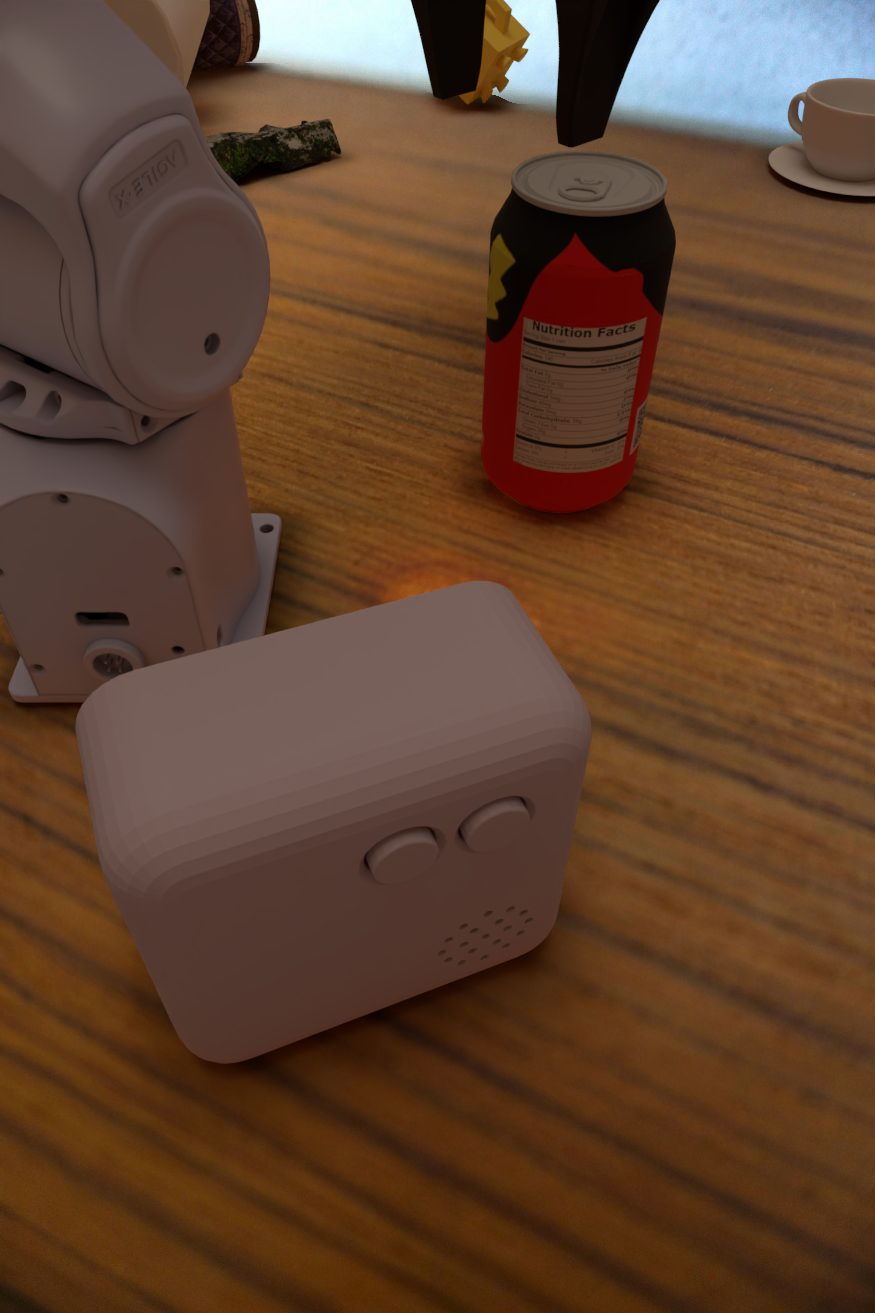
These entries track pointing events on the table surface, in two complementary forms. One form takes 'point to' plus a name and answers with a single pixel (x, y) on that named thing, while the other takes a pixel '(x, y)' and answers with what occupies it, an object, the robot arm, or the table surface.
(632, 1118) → the table surface
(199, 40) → the cup
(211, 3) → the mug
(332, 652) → the electronic device
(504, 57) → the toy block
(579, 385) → the beverage can
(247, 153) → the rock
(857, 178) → the teacup
